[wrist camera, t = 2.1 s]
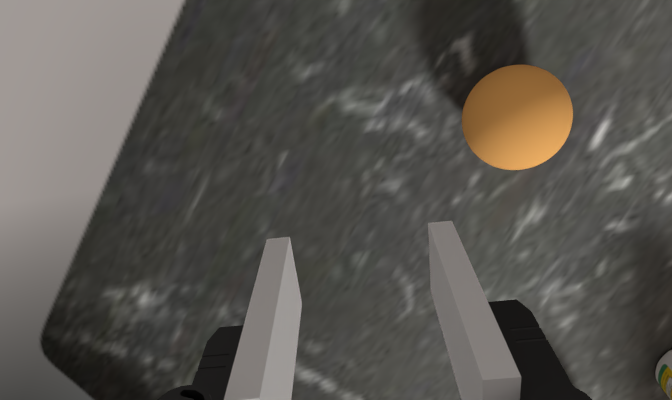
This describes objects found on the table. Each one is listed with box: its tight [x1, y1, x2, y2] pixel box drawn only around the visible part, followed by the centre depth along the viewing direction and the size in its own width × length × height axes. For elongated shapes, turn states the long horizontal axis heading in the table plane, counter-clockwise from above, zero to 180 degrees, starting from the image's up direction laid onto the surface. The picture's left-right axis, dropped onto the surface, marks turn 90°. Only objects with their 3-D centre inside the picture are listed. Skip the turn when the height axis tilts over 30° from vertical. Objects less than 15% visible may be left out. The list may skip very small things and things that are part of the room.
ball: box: [462, 65, 573, 170], centre depth 28 cm, size 6×6×6 cm
